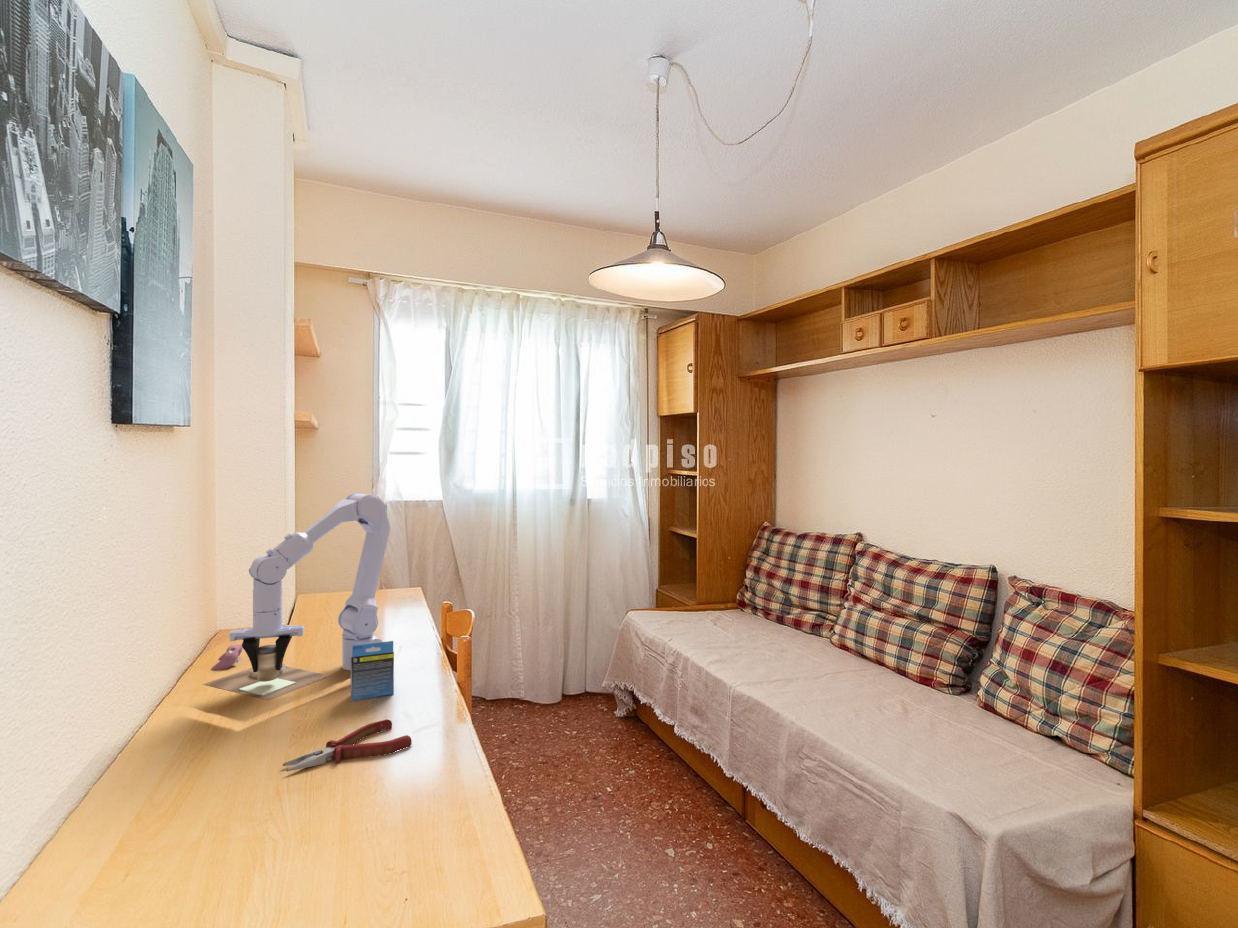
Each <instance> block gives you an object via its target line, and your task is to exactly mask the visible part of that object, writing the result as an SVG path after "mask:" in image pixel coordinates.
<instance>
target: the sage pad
mask: <svg viewBox="0 0 1238 928" xmlns="http://www.w3.org/2000/svg"><path fill="white" fill-rule="evenodd" d="M294 684H296V682H292V681H288V680H283V679H279V678H277V679H274V680H271V681H265V682H257V683H254V684H251V685H248V686H246V687H243V688H240V689H239V690H240V691H244V692H248V693H252V694H256V695H261V696H265V695H268V694H270V693H273V692H276V691H278V690H281V689H283V688H286V687H289V686H291V685H294Z"/></svg>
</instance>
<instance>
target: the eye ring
mask: <svg viewBox="0 0 1238 928" xmlns="http://www.w3.org/2000/svg"><path fill="white" fill-rule="evenodd" d="M285 666H286V665H285V663H282V668H281V669H280V670H278V675H281V674H283V673H284V672H285ZM251 676H252V677H253V678H257V672H253V669H252V670H251Z"/></svg>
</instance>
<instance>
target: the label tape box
mask: <svg viewBox="0 0 1238 928" xmlns="http://www.w3.org/2000/svg"><path fill="white" fill-rule="evenodd" d="M372 647H374V648H380V650H379V651H370V652H366V649H371V648H372ZM394 675H395V651H394V640H389V641H382V642H379V643H369V644H359V645H352V657H351V670H350V700H351V702H353V701H361V700H367V699H373V698H377V697H378V698H379V697H384V696H385V697H386V696H390V695H394V692H395V684H394V683H395V677H394Z"/></svg>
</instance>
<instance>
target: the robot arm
mask: <svg viewBox="0 0 1238 928" xmlns="http://www.w3.org/2000/svg"><path fill="white" fill-rule="evenodd" d="M387 508H388V507H387V504H385V502H384V501H383V500H382V499H381V498H380V496H378V495H376V494H370V493H369V494H368V493H367V494H364V493H360V492H352V493H351V494H349V495H348V496H347V497H346V498H343V499H341V500H340V501H338V502H337V503H336V504H335V505H334V506H333V507H332V508H331V509H330V510H328V511H327V512H326V513H325V514H324V515H323V516H321V517H320V518H319V519H318V520H317V521H316V522H314V523H313V524H312V525H311V526H309V527H308V528H307V529H305V530H304V531H303V532H299V531H296V532H294V533H292V534H291V533H287V534H286V535H285V536H284V540H283V541H282V542H280V543H278V544H277V545H276V546H275V547H274V548H272V549H271V548H269V549H267V550H266V553H267V554H264V555H260V556H258V557H256V558H255V559H254V560H253V561H252V562H251V565H250V567H249V568H248V573H249V575H250V577H251V578H253V579H252V580H253V581H252V582H253V586H252V587H253V590H252V627H250V628H243V629H235V630H234V629H233V630H231V631H230V632H229V642H236V641H242V643H241V645H242V647H243V649H242V650H244V652H245V653H246V655H247V657H248V659H249V662H250V664H251V668H252V669H253V672H257V648H258V647H260V643H261V642H260V641H261V639H270V638H277V639H276V640H275V645H276V652H277V661H276V670H280V669H281V668H282V664H284V663H283V661H284V658H285V656H286V655H285V654H286V652H287V649H288V647H289V645H290V642H291V640H292V638H293V637H303V636H304V635H305V625H283V584H282V583H283V581H282V580H283V579H284V578H285V577H286V574H287V571H288V570H289V569H291V568H292V567H293V566H295V565H296V564H297V563H299V561H301V560H302V559H303V558H305V557H306V556H308V554H309V553H311V552H312V551H313V548H314V543H315V542H317V541H318V540H319V539H321V538H322V537H324V536H325V535H327V534H328V533H330V532H331V531H332V530H334V529H336V527H338V526H339V525H341V524H342V523H345V522H346V523H347V522H355V521H356V522H358V523H359V525H360V526H361V527H362V529H364V531H365V537H364V542H363V546H362V551H361V555H360V559H359V563H358V567H357V572H356V576H355V579H354V584H353V588H352V592H351V595H350V596H349V597H348V598H347V599H346V600H345V603H344V607H343V609H342V610H341V611H340V613H339V615H338V618H337V621H338V622H337V623H338V625H339V627H340V628H341V629H342V634H341V642H342V643H341V649H342V650H341V651H342V652H341V656H342V657H341V660H342V661H341V662H342V663H341V666H342V669H343V670H345V671H351V657H352V645H359V644H369V643H379V642H383V640H382V639H380V638H378V637H377V636H376V635H375V634H374V633H375V632H376V630H377V628H378V626H379V619H378V614H377V613H378V609H379V607H378V604H377V601H376V598H375V597H376V592H377V589H378V583H379V580H380V576H381V572H382V566H383V562H384V558H385V554H386V549H387V545H388V539H389V536H390V535H389V534H390V532H391V527H390V522H389V517H388V515H387ZM379 650H380V648H374V647H372V648H371V649H366V652H370V651H379Z"/></svg>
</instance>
